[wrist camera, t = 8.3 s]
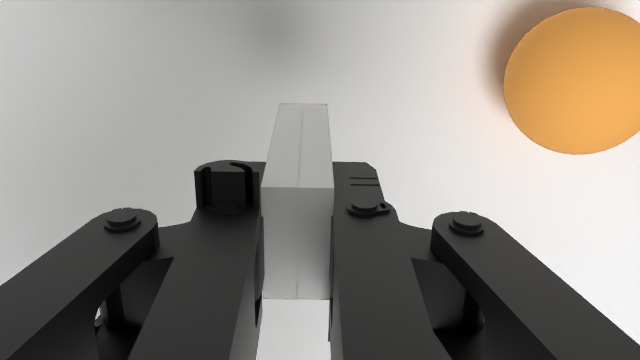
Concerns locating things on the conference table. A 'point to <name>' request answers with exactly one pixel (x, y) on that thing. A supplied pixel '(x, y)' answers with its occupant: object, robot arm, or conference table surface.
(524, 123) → the ball
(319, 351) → the conference table surface
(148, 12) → the conference table surface
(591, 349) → the robot arm
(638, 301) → the conference table surface
